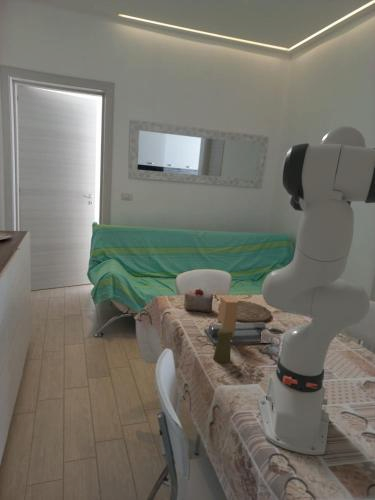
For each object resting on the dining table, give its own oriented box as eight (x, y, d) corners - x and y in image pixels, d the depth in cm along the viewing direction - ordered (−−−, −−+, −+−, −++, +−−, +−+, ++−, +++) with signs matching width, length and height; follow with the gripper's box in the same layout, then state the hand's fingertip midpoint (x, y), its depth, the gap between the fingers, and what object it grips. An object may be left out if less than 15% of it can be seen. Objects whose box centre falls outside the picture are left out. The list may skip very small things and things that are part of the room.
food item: (182, 310, 159) (184, 290, 157) (183, 304, 167) (185, 285, 165) (211, 314, 158) (213, 294, 156) (211, 308, 166) (214, 288, 164)
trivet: (233, 300, 182) (233, 296, 181) (278, 314, 168) (279, 310, 167) (208, 312, 162) (208, 308, 161) (257, 329, 148) (257, 325, 147)
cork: (229, 365, 115) (233, 335, 113) (212, 361, 116) (215, 331, 114) (231, 356, 121) (235, 327, 119) (214, 353, 122) (217, 324, 120)
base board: (257, 329, 146) (257, 327, 146) (271, 343, 135) (271, 340, 134) (204, 331, 139) (204, 328, 139) (214, 345, 128) (214, 342, 128)
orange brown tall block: (228, 330, 139) (232, 296, 136) (234, 337, 133) (238, 302, 130) (216, 330, 137) (220, 296, 135) (222, 337, 132) (226, 302, 129)
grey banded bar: (261, 331, 142) (263, 320, 141) (266, 335, 138) (267, 324, 137) (208, 333, 135) (209, 321, 134) (211, 337, 132) (213, 325, 131)
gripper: (312, 224, 127) (303, 260, 128) (322, 224, 107) (311, 267, 108) (330, 227, 125) (321, 264, 127) (343, 228, 105) (332, 271, 107)
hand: (316, 265), depth 117 cm, fingers closed
